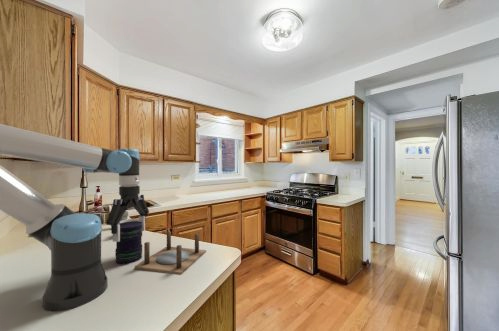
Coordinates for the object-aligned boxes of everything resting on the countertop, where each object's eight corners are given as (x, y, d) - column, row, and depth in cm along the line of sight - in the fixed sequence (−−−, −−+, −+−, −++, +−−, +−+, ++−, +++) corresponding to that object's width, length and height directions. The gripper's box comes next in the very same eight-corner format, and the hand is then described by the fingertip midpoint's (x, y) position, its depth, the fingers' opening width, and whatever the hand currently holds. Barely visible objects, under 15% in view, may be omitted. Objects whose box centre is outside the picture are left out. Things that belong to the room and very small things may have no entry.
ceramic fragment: (109, 229, 129) (109, 213, 129) (108, 228, 132) (108, 212, 132) (128, 225, 136) (128, 210, 136) (127, 224, 139) (127, 210, 139)
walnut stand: (181, 276, 73) (181, 249, 74) (134, 270, 78) (134, 245, 78) (206, 253, 93) (206, 232, 93) (167, 249, 98) (167, 229, 98)
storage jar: (117, 267, 80) (117, 229, 80) (113, 259, 87) (113, 224, 87) (145, 260, 86) (145, 224, 87) (139, 252, 94) (139, 220, 94)
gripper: (110, 189, 74) (111, 247, 74) (156, 182, 98) (157, 227, 98) (94, 188, 76) (94, 246, 76) (143, 182, 100) (143, 226, 100)
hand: (130, 235), depth 87 cm, fingers open, 13 cm apart
